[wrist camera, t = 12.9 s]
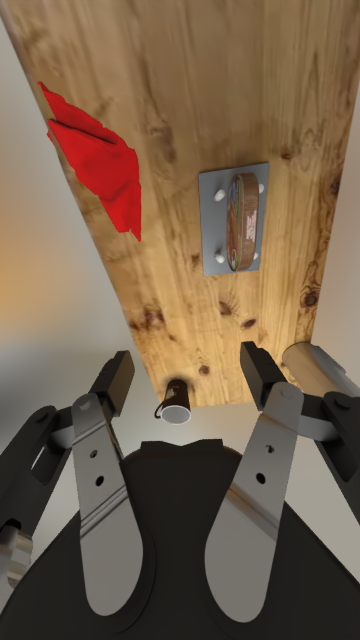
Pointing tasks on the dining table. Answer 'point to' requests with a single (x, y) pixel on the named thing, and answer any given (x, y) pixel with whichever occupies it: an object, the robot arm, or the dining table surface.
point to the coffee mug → (175, 404)
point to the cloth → (99, 162)
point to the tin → (242, 220)
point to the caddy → (225, 216)
